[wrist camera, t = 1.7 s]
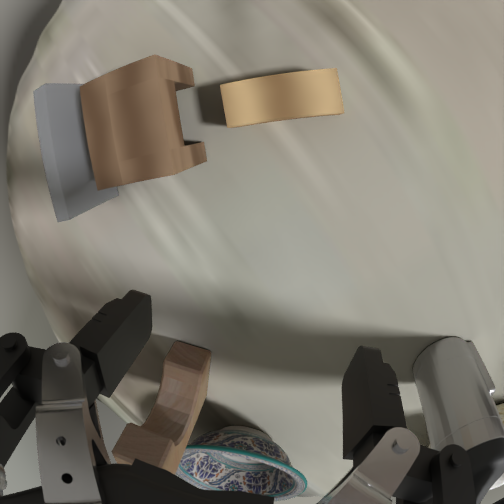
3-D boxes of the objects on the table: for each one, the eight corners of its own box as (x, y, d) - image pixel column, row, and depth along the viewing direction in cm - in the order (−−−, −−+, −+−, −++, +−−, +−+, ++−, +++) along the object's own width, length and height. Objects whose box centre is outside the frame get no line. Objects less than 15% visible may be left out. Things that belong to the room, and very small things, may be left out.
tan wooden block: (332, 75, 24) (336, 68, 21) (339, 114, 26) (344, 113, 22) (231, 89, 27) (219, 84, 23) (237, 127, 28) (227, 127, 24)
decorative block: (175, 338, 41) (109, 452, 23) (213, 350, 40) (160, 474, 22) (174, 384, 45) (125, 482, 28) (206, 395, 45) (165, 499, 27)
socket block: (192, 68, 26) (154, 54, 18) (206, 161, 29) (174, 174, 22) (126, 89, 27) (79, 86, 20) (140, 173, 31) (97, 190, 24)
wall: (99, 85, 28) (45, 83, 20) (118, 195, 33) (69, 219, 25) (87, 90, 28) (33, 91, 20) (106, 198, 34) (57, 222, 26)
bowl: (189, 451, 56) (176, 484, 48) (175, 388, 46) (153, 431, 37) (298, 471, 53) (293, 507, 44) (325, 414, 42) (322, 463, 34)
